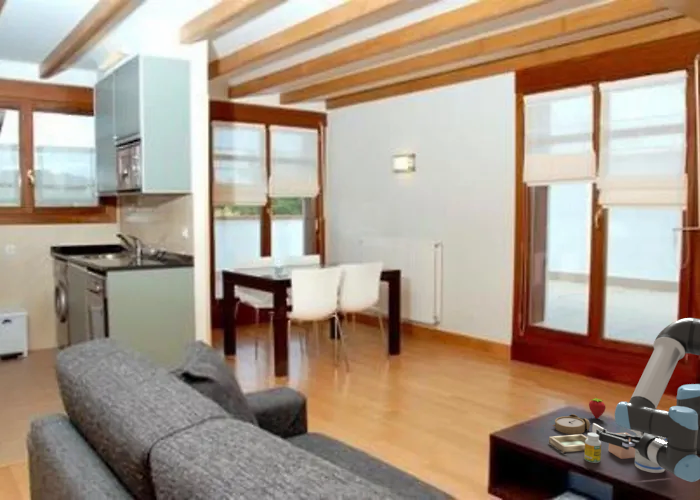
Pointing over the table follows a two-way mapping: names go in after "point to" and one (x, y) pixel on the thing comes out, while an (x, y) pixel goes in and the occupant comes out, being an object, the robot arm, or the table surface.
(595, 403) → the strawberry
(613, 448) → the pink open box
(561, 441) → the wooden tray
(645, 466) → the supplement tub
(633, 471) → the table surface
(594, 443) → the supplement bottle
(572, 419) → the alarm clock
